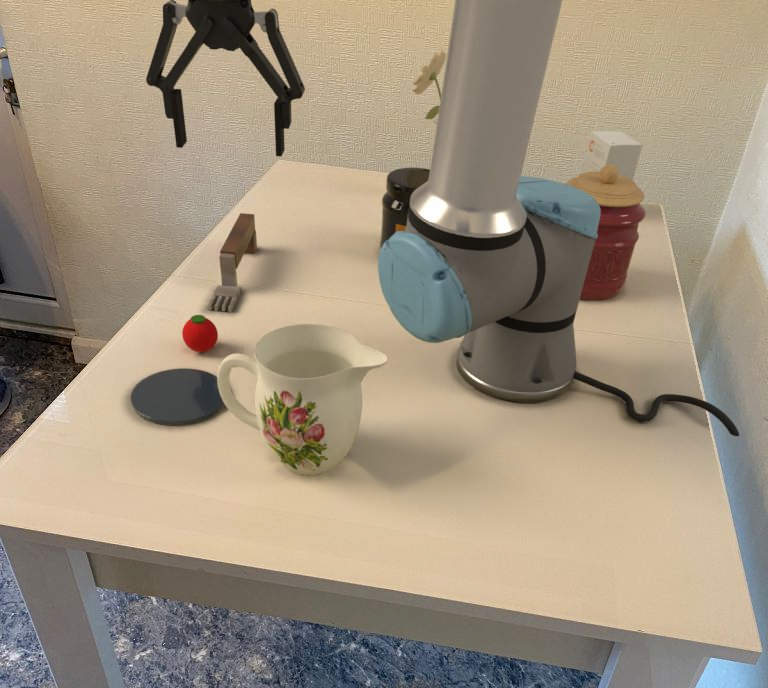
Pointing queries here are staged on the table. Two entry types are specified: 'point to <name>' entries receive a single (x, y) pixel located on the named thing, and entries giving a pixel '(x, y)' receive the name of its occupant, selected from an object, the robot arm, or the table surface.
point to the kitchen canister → (611, 229)
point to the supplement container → (399, 199)
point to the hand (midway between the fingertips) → (231, 149)
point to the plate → (177, 397)
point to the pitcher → (304, 393)
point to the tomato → (200, 334)
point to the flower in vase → (431, 81)
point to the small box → (612, 152)
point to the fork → (234, 261)
